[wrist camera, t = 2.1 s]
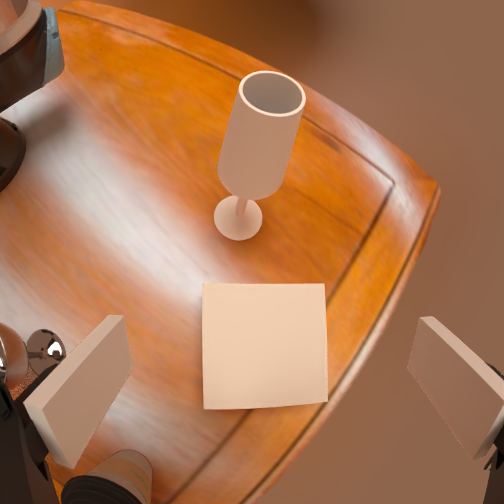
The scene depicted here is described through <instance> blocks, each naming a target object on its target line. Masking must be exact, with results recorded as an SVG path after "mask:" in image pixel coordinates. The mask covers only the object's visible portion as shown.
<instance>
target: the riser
mask: <svg viewBox="0 0 504 504" xmlns="http://www.w3.org/2000/svg"><path fill="white" fill-rule="evenodd" d="M202 355H203V396H204V409H250V408H268V407H282V406H293V405H303V404H312V403H320V402H327V401H328V373H327V330H326V306H325V288H324V284H209V283H202Z"/></svg>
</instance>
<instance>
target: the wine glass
mask: <svg viewBox="0 0 504 504" xmlns="http://www.w3.org/2000/svg"><path fill="white" fill-rule="evenodd" d="M65 358H66V351H65V348H64V345H63V343H62V341H61V340H60V338H59V337H58V336H57V335H56V334H55V333H53V332H52V331H50V330H46V329H40V330H37V331H35V332H34V333H33V334H32V335H31V336H30V338H29V340H28V342H27V346H26V345H25V343H24V341H23V339H22V338H21V336H20V335H19V334H18V333H17V332H16V331H15V330H13V329H12V328H10V327H9V326H7V325H5V324H3V323H1V322H0V382H3V383H4V384H5V385H7V387H8V389H9V391H10V390H12V389H14V388H16V387H17V386H18V385H19V384H21V383H22V381H23V380H24V379H25V377H26V375H27V373H28V369H29V365H30V367H31V369H32V370H33V371H34V373H35V374H37V375H38V376H39V375H40V374H41V373H42V372H43V371H44V370H45V369H46V368H48V367H50V366H52V365H54V364H56V363H57V364H60V363H61V362H62V361H63V360H64V359H65Z"/></svg>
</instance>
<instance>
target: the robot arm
mask: <svg viewBox="0 0 504 504" xmlns="http://www.w3.org/2000/svg"><path fill="white" fill-rule="evenodd" d="M64 65H65V64H64V56H63V50H62V45H61V40H60V36H59V30H58V23H57V18H56V13H55V10H54V8H53V7H50V8H45V9H43V8H42V5H41V3H40V2H39V1H37V0H0V113H1V112H3V111H4V110H6V109H7V108H9V107H10V106H12V105H13V104H15V103H16V102H18V101H19V100H21V99H23V98H24V97H26V96H28V95H29V94H31V93H33V92H34V91H36V90H38V89H40V88H43V87H44V86H45V84H47V83H49V82H50V81H52V80H53V79H55V78H57V77H58V76H59V75H60V74H61V73H62V72H63V70H64ZM25 149H26V140H25V136H24V134H23V133H22V132H21V130H20V129H19V128H18V126H17V125H15V124H14V123H12V122H10V121H8V120H6V119H4V118H2V117H0V191H1V190H3V189H4V188H5V187H6V186H7V185H8V183H9V182H10V181H11V180H12V178H13V177H14V175H15V174H16V172H17V171H18V169H19V167H20V165H21V163H22V160H23V157H24V154H25ZM407 369H408V370H409V371H410V373H411V374H412V376H413V377H414V378H415V380H416V381H417V382H418V384H419V385H420V387H421V388H422V389H423V391H424V392H425V394H426V395H427V397H428V398H429V399H430V401H431V402H432V404H433V405H434V407H435V408H436V409H437V411H438V412H439V414H440V415H441V417H442V418H443V420H444V421H445V423H446V424H447V426H448V427H449V429H450V430H451V432H452V433H453V435H454V436H455V437H456V439H457V440H458V442H459V444H460V445H461V447H462V448H463V450H464V451H465V453H466V454H467V456H468V458H469V459H470V461H473V460H475V459H477V458H480V457H482V456H484V455H486V454H487V452H488V451H489V449H490V448H491V446H492V444H493V443H494V444H495V446H496V447H497V449H496V450H495V452H494V453H493V455H492V457H491V458H490V459H489V461H488V462H487V464H486V465H485V467H484V469H485V470H486V469H487V468H488V466H489V465H490V464H491V463H492V464H491V468H490V475H489V480H488V485H487V489H486V494H485V498H484V501H483V504H504V376H503V375H501V373H500V372H499V371H498V370H497V369H496V368H495V367H493V366H491V365H490V364H488V363H486V362H484V361H482V360H481V359H480V358H479V357H478V356H477V355H476V354H475V353H474V352H473V351H472V350H470V349H469V348H468V347H467V346H466V345H465V344H464V343H463V342H462V341H460V340H459V339H458V338H457V337H456V336H455V335H454V334H453V333H451V332H450V331H449V330H448V329H447V328H446V327H445V326H443V325H442V324H441V323H440V322H439V321H437V320H436V319H435V318H434V317H433V316H432V317H420V318H419V323H418V327H417V332H416V336H415V340H414V344H413V348H412V352H411V356H410V359H409V363H408V367H407ZM132 370H133V363H132V358H131V353H130V347H129V342H128V336H127V330H126V324H125V317H124V316H120V315H108V316H107V317H106V318H105V319H104V320H103V321H102V322H101V323H100V324H99V325H98V326H97V327H96V328H95V329H94V330H93V331H92V332H91V333H90V334H89V335H88V336H87V337H86V338H85V339H84V340H83V341H82V342H81V343H80V344H79V345H78V346H77V347H76V348H75V349H74V350H73V351H72V352H71V353H70V354H69V355H68V356H67V357H66V358H65V359H64V360H63V361H62V362H61V363H60V364H57V363H56V364H54V365H52V366H50V367H48V368H46V369H45V370H44V371H43V372H42V373H41V374H40V375H39V376H38V378H36V379H35V380H34V381H33V382H32V384H30V385H29V386H28V387H27V388H26V389H25V390H24V391H23V392H22V393H21V394H20V396H19V397H18V398H17V399H16V400H15V401H13V399H12V396H11V394H10V392H9V389H8V387H7V385H5V384H4V383H3V382H0V504H60V503H59V500H58V497H57V494H56V491H55V488H54V485H53V481H52V478H51V475H50V471H49V467H48V464H47V462H46V460H45V459H44V458H45V457H46V455H47V454H48V452H49V453H50V455H51V457H52V458H53V460H54V462H55V463H57V464H59V465H62V466H65V467H67V468H70V469H74V468H75V466H76V464H77V462H78V460H79V459H80V457H81V455H82V453H83V452H84V450H85V448H86V446H87V445H88V443H89V441H90V440H91V438H92V436H93V434H94V433H95V431H96V429H97V428H98V426H99V424H100V422H101V421H102V419H103V417H104V416H105V414H106V412H107V411H108V409H109V407H110V406H111V404H112V402H113V401H114V399H115V397H116V396H117V394H118V393H119V391H120V389H121V388H122V386H123V384H124V383H125V381H126V379H127V378H128V376H129V375H130V373H131V371H132Z"/></svg>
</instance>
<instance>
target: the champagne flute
mask: <svg viewBox="0 0 504 504" xmlns="http://www.w3.org/2000/svg"><path fill="white" fill-rule="evenodd" d="M305 101H306V96H305V93H304V91H303V89H302V87H301V86H300V85H299V84H298V83H297V82H296V81H295V80H293V79H292V78H290V77H289V76H286V75H284V74H281V73H278V72H273V71H258V72H254V73H251V74H249V75H247V76H246V77H245V78H244V79H243V80H242V81H241V83H240V85H239V88H238V92H237V95H236V98H235V102H234V105H233V109H232V112H231V116H230V119H229V123H228V126H227V130H226V134H225V137H224V141H223V144H222V148H221V152H220V156H219V159H218V164H217V172H218V176H219V179H220V181H221V183H222V185H223V186H224V187H225V188H226V190H228V191H229V192H230V193H231V194H233V195H234V196H229V197H227V198H225V199H223V200H222V201H221V202H220V203H219V204H218V205H217V207H216V209H215V212H214V222H215V225H216V227H217V229H218V230H219V232H220V233H221V234H222V235H224V236H225V237H227V238H229V239H232V240H246V239H249V238H251V237H252V236H254V235H255V234H256V233H257V232H258V231H259V229H260V227H261V224H262V213H261V210H260V208H259V206H258V205H257V204H256V203H255V202H254V201H253V200H259V199H264V198H266V197H269V196H270V195H272V194H273V193H275V192H276V191H277V190H278V189H279V188H280V186H281V184H282V183H283V180H284V176H285V173H286V169H287V166H288V162H289V159H290V155H291V152H292V148H293V144H294V141H295V137H296V134H297V130H298V126H299V123H300V119H301V116H302V112H303V108H304V105H305Z"/></svg>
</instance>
